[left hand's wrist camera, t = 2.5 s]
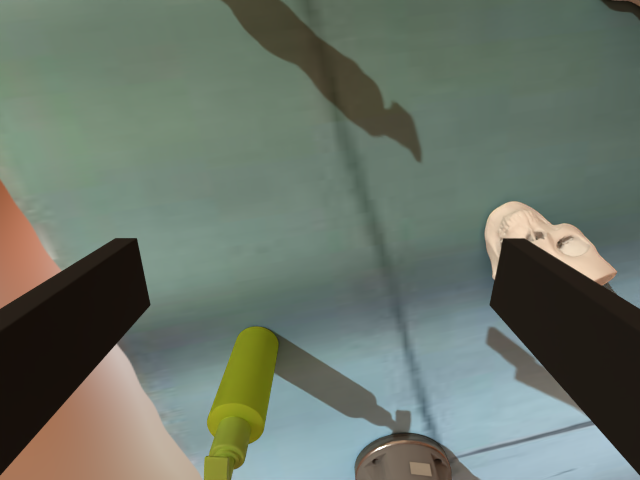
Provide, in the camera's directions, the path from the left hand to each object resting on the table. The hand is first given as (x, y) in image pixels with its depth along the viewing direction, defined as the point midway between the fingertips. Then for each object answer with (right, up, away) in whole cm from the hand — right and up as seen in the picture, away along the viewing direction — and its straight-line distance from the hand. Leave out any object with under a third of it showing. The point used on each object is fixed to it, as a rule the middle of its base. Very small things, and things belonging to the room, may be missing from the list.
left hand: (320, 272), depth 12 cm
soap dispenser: (-9, -13, +35) cm, 38 cm away
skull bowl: (+25, -1, +30) cm, 39 cm away
